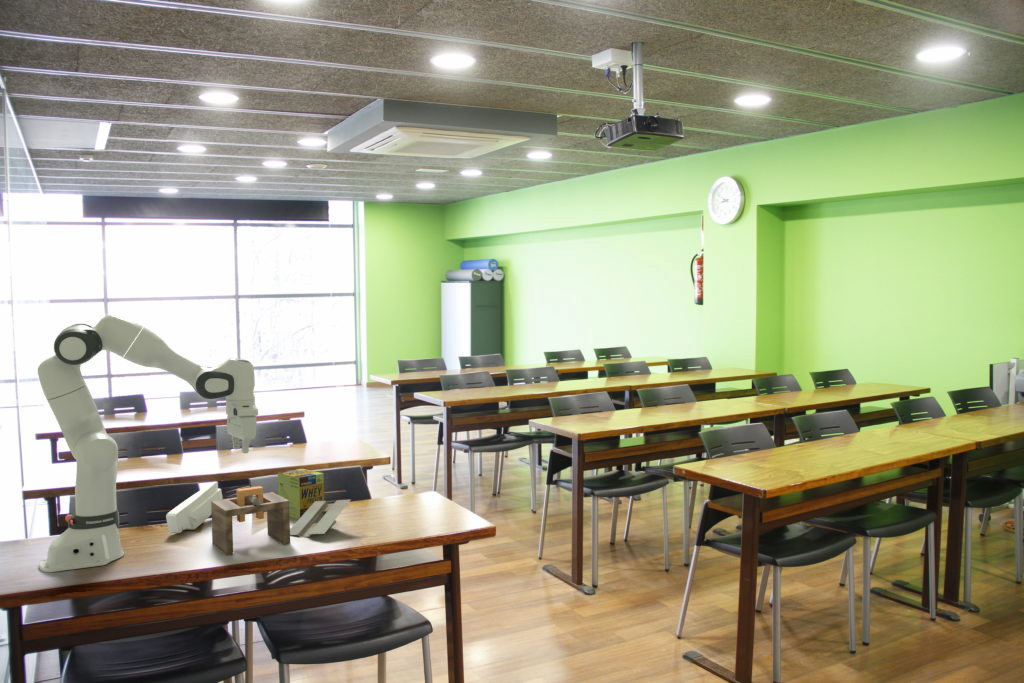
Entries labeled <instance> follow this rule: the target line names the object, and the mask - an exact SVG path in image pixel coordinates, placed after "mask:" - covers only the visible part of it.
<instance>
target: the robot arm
mask: <svg viewBox="0 0 1024 683" xmlns="http://www.w3.org/2000/svg"><path fill="white" fill-rule="evenodd" d="M53 343H54V344H53V351H54V355H53V356H51V357H49V358H46V359H45V360H44V361H42V362H41V363H40V364H39V366H38V367H37V376H38V379H39V383H40V386H41V389H42V391H43V394H44V396H45V398H46V400H47V403H48V404H49V407H50V409H51V411H52V413H53V415H54V417H55V419H56V421H57V423H58V425H59V427H60V430H61V432H62V434H63V438H64V440H65V442H66V445H67V446H68V448H69V449H68V450H70V453H71V455H72V457H73V458H74V460H76V478H75V488H74V497H75V498H74V499H75V514H73V515H72V514H66V516H65V518H64V520H65V522H66V523H67V525H68V528H67V529H66V530H64V532H62V533H61V534H60V535H59V536H57V537H55V539H54V540H52V541H51V543H50V545H49V547H48V550H47V556H46V557H44V558H42V559H41V560H40V561H39V564H38V567H39V570H40V571H42V572H45V573H53V572H54V573H55V572H61V571H62V572H63V571H68V570H69V571H70V570H77V569H85V568H92V567H99V566H105V565H108V564H109V563H111V562H113V561H116V560H118V559H121V558H122V557H123V556H124V555H125V552H124V550H123V546H122V543H121V539H120V533H119V526H120V514H119V510H118V507H117V475H118V465H119V464H118V463H119V446H118V444H117V442H116V440H115V439H114V438H113V437H112V436H110V435H109V434H108V433H107V430H106V428H105V427H104V423H103V421H102V419H101V416H100V413H99V408H98V407H97V404H96V402H95V401H94V400H95V399H94V398H93V396H92V394H91V392H90V390H89V388H88V386H87V384H86V381H85V379H84V377H83V375H82V372H81V365H83V364H85V363H87V362H89V361H91V359H93V358H94V357H95V356H97V355H98V354H99V353H101V351H108V352H111V353H114V354H116V355H117V356H119V357H121V358H123V359H124V360H126V361H129V362H131V363H134V364H136V365H139V366H142V367H145V368H146V367H147V368H157V369H159V370H160V369H161V370H163V371H165V372H168V373H170V374H172V375H174V376H176V377H178V378H180V379H181V380H184V381H185V382H187V383H188V384H189V385H190V386H191V387H192V388H193V389H194V391H195V392H196V393H197V394H198V395H199V396H200V397H201V398H203V399H205V400H210V401H213V400H217V399H220V398H225V415H227V417H226V433H227V434H228V435H229V436H230V435H231V441H232V449H233V450H240V449H241V453H242V454H248V453H249V452H250V450H249V447H250V443H251V441H254V440H255V439H256V436H257V425H258V424H257V422H258V419H257V416H258V415H259V409H258V407H257V406H256V401H255V400H256V399H255V398H256V397H255V394H254V391H255V386H256V384H255V383H256V382H255V369H254V365H253V364H252V362H250V361H249V360H246V359H243V358H242V359H241V358H234V357H231V358H228V359H226V361H224V362H222V363H221V364H218V365H217V366H215V367H212V366H204V365H203V366H201V365H199V364H196V363H195V362H193V361H191V360H189V359H188V358H185V357H183V356H182V355H180V354H178V353H177V352H175V351H174V350H173V349H172V348H171V347H170V346H168V344H167V343H166V342H165V341H164V340H163V339H162V338H161V337H159V335H157V334H156V333H154V332H153V331H151V330H150V329H148V328H146V327H145V326H142V325H141V324H139V323H137V322H135V321H132V320H131V319H128V318H125V317H122V316H120V315H116V314H108V315H105V316H104V317H102V318H101V319H100V320H99V321H98V323H96V325H95V326H91V325H89V324H86V323H76V324H72V325H69V326H67V327H66V328H64V329H62V331H61V332H60V333H59V334H58V335H57V336H56V338H55V340H54V342H53ZM240 440H241V443H240ZM241 444H242V447H241Z"/></svg>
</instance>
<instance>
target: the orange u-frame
mask: <svg viewBox="0 0 1024 683" xmlns="http://www.w3.org/2000/svg"><path fill="white" fill-rule="evenodd" d="M235 493H236V497H237V505H238V506H239V507H242V506H246V505H245V504H246V503H245V499H244V497H245V496H252V495H255V497H256V498H258V499H260V500H261V504H262V503H263V493H264V487H263V486H261V485H258V486H250V487H245V488H237V489H236V492H235ZM264 514H265V513H264V511H261V512H255V518H257V519H258V520H262V519H264V518H265V515H264ZM236 520H237V522H239V523H245V522H246V514H242V515H236Z"/></svg>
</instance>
